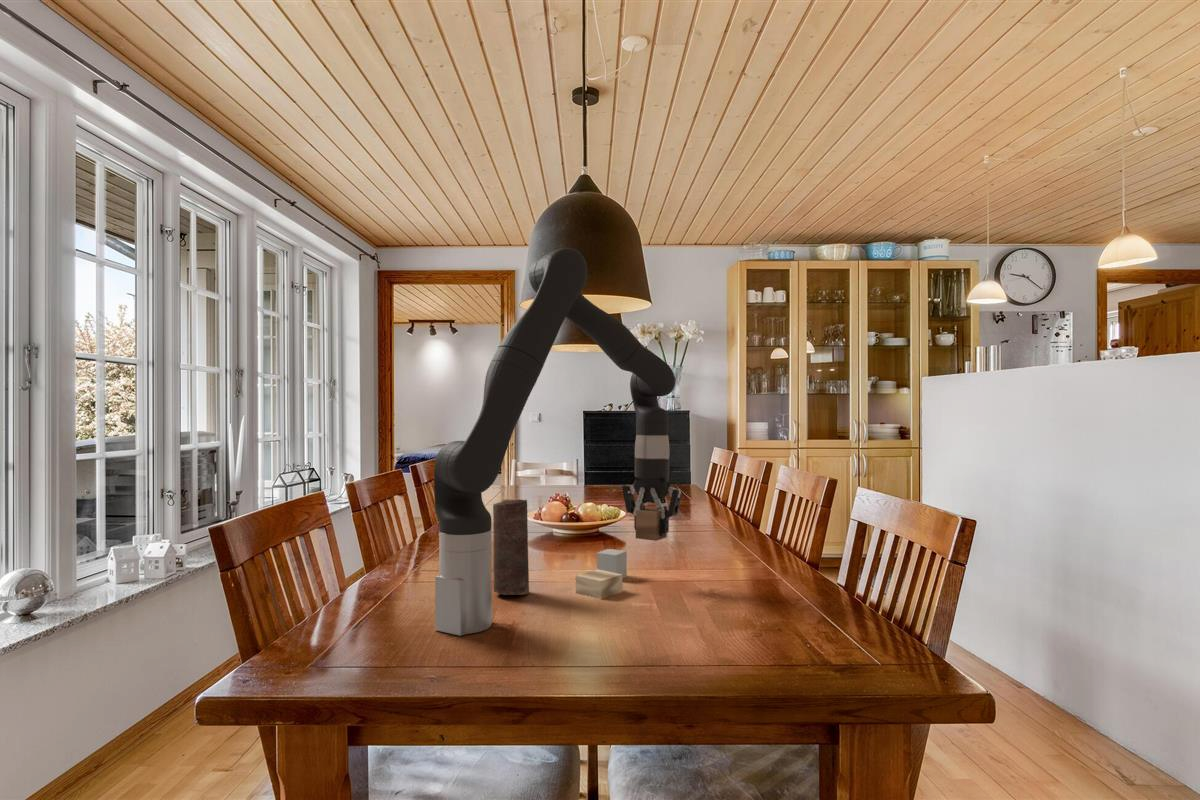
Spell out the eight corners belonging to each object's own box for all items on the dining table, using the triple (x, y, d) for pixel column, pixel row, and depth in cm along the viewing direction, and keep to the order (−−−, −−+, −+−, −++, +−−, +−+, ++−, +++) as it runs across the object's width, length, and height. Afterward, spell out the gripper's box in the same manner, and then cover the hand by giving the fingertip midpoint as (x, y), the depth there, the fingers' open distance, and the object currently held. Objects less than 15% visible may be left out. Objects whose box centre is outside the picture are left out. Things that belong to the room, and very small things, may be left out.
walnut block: (656, 540, 141) (656, 512, 141) (635, 538, 143) (635, 510, 144) (666, 537, 145) (666, 509, 145) (646, 534, 148) (646, 507, 148)
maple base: (600, 600, 136) (600, 581, 136) (575, 594, 140) (575, 575, 141) (622, 593, 141) (622, 574, 141) (597, 587, 146) (597, 569, 146)
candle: (510, 602, 134) (510, 503, 134) (485, 596, 139) (485, 500, 139) (536, 593, 140) (535, 498, 140) (511, 588, 145) (511, 496, 145)
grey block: (615, 581, 150) (615, 555, 150) (597, 578, 152) (596, 552, 152) (626, 577, 154) (626, 551, 154) (608, 574, 157) (608, 548, 157)
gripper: (614, 455, 145) (614, 533, 145) (674, 458, 138) (673, 540, 137) (631, 454, 152) (630, 528, 151) (689, 456, 144) (688, 535, 144)
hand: (651, 534), depth 144 cm, fingers closed on walnut block, 5 cm apart
